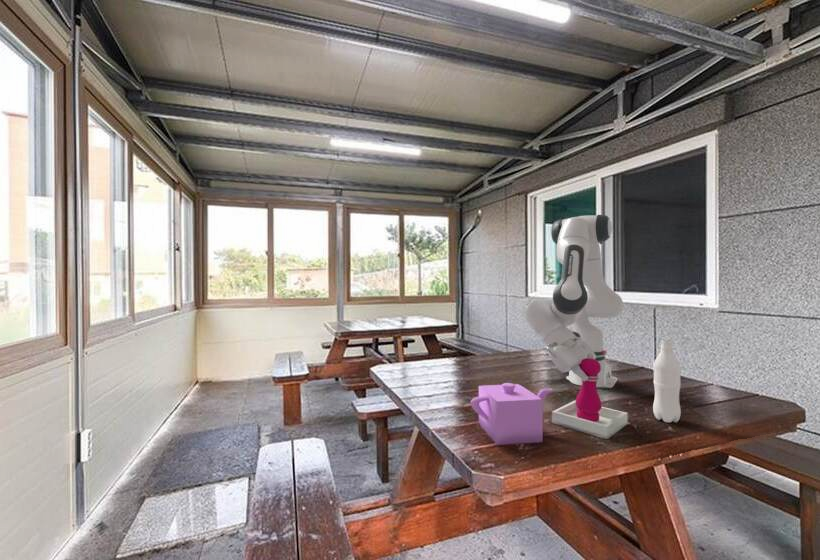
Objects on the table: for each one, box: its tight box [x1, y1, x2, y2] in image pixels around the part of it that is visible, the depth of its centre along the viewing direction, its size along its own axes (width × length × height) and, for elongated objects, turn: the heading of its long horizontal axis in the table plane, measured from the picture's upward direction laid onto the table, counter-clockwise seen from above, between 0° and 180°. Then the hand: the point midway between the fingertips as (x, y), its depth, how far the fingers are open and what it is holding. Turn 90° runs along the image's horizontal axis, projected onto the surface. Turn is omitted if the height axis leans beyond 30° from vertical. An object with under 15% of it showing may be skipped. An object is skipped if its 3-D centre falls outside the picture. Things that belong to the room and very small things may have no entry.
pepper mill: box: [575, 353, 603, 422], centre depth 115 cm, size 7×7×20 cm
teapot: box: [470, 382, 554, 446], centre depth 109 cm, size 15×25×14 cm, turn 98°
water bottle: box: [652, 339, 682, 424], centre depth 118 cm, size 7×7×25 cm
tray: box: [551, 399, 628, 440], centre depth 115 cm, size 16×16×4 cm
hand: (591, 377), depth 115 cm, fingers closed on pepper mill, 5 cm apart
